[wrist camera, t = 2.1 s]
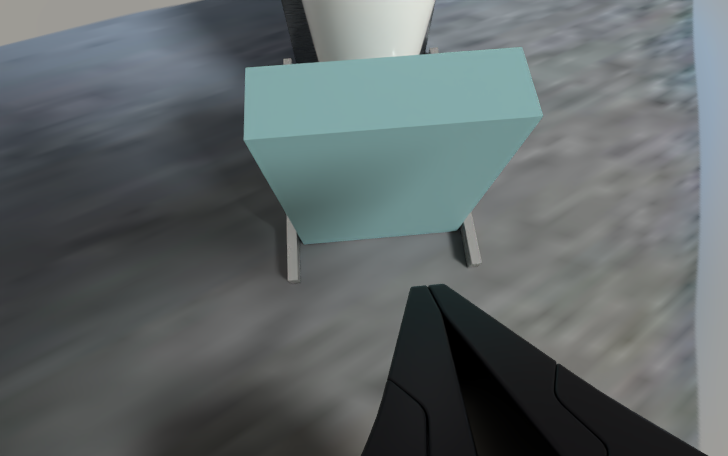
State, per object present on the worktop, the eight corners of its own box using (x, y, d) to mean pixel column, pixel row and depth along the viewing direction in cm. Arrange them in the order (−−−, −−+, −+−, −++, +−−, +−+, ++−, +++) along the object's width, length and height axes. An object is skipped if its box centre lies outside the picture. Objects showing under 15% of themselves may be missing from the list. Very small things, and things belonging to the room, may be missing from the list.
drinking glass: (310, 93, 27) (250, -192, 13) (393, 69, 28) (422, -225, 14) (338, 167, 25) (302, -77, 11) (427, 139, 26) (503, -124, 11)
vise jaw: (456, 231, 23) (543, 116, 12) (303, 244, 23) (243, 140, 12) (448, 189, 24) (522, 47, 13) (302, 202, 24) (245, 67, 13)
